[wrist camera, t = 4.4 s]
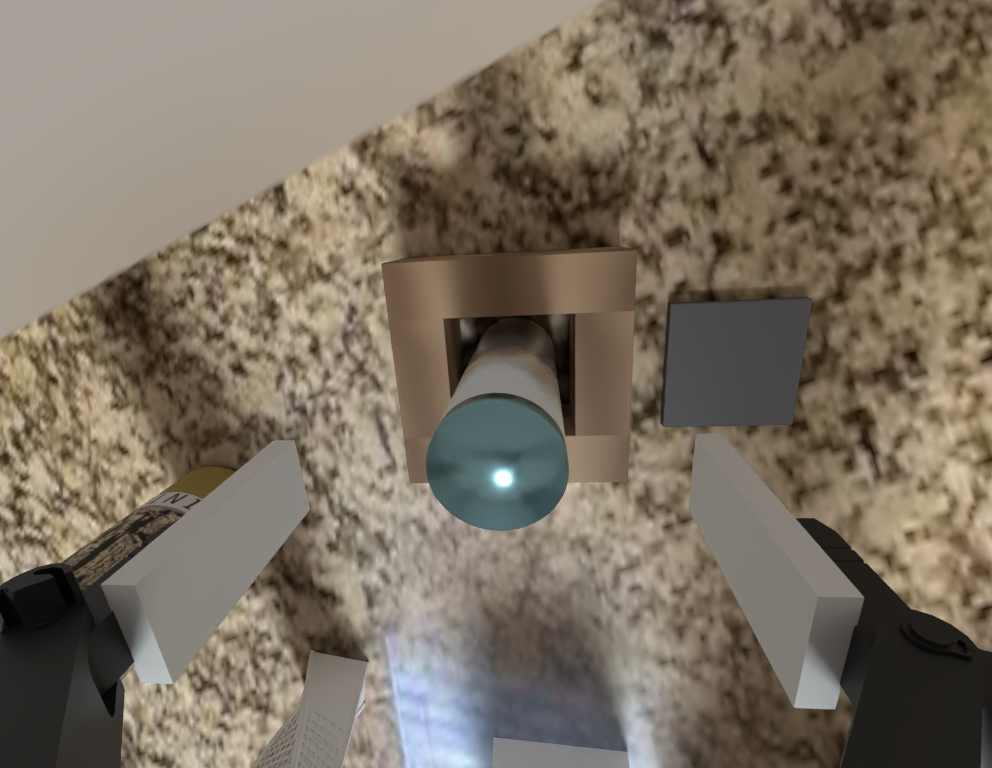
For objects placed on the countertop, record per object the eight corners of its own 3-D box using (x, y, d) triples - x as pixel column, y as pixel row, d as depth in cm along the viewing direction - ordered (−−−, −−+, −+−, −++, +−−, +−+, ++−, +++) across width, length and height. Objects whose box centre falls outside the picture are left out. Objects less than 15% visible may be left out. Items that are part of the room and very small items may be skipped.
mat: (807, 297, 28) (812, 298, 27) (787, 421, 30) (792, 424, 29) (668, 303, 28) (670, 304, 28) (660, 423, 31) (662, 426, 30)
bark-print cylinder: (285, 518, 36) (-191, 1070, 12) (221, 548, 38) (-312, 1091, 14) (232, 448, 34) (-434, 930, 11) (167, 482, 36) (-542, 971, 12)
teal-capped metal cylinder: (553, 315, 29) (568, 401, 15) (554, 390, 31) (569, 531, 17) (474, 318, 30) (418, 404, 16) (480, 391, 31) (432, 530, 17)
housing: (619, 246, 27) (636, 250, 23) (614, 444, 32) (627, 482, 27) (406, 257, 29) (381, 263, 24) (428, 446, 33) (409, 482, 28)
